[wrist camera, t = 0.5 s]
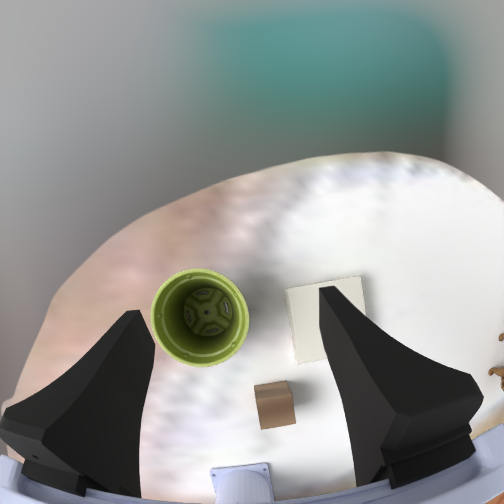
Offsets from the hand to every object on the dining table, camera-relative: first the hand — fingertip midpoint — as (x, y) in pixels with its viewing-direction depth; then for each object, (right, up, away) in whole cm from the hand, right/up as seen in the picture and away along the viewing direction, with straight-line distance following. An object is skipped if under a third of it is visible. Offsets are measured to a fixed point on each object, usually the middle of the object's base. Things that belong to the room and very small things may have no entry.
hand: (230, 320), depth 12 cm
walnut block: (+3, -16, +24) cm, 29 cm away
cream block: (+10, -6, +26) cm, 28 cm away
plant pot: (-4, -5, +25) cm, 26 cm away
